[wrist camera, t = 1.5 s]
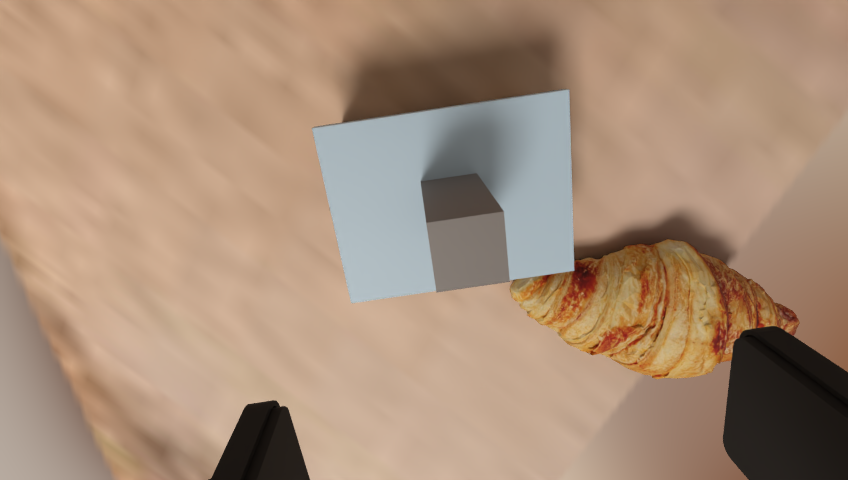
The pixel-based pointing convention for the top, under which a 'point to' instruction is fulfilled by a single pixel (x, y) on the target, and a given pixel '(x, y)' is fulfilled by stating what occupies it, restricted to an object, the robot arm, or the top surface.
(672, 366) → the croissant
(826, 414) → the robot arm
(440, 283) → the lid
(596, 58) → the top surface
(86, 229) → the top surface
